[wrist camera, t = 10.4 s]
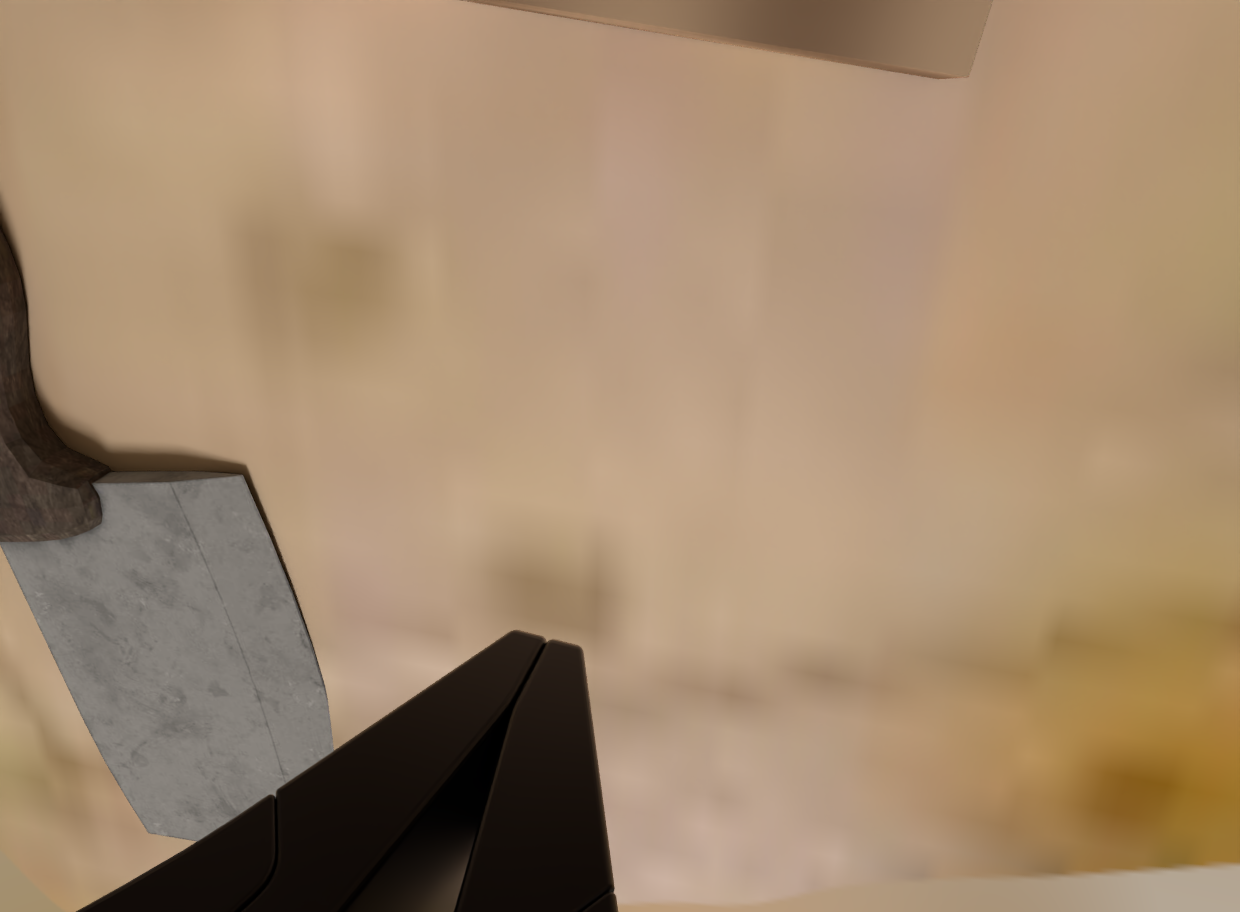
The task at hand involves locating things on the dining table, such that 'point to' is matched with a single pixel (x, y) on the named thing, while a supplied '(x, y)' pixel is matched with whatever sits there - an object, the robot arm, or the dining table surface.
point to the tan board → (805, 27)
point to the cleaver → (157, 613)
